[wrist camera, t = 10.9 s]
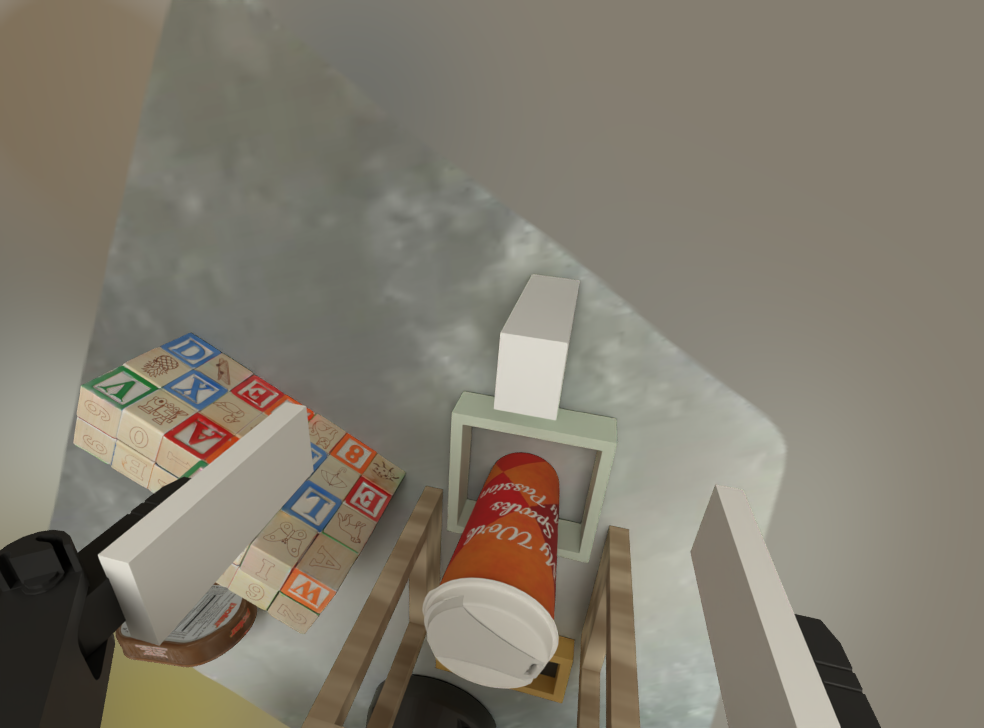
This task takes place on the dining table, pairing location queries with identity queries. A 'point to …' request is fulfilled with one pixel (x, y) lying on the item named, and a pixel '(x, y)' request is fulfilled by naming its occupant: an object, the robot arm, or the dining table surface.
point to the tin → (197, 631)
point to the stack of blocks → (215, 428)
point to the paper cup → (501, 580)
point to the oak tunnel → (421, 564)
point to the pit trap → (548, 673)
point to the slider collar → (534, 406)
